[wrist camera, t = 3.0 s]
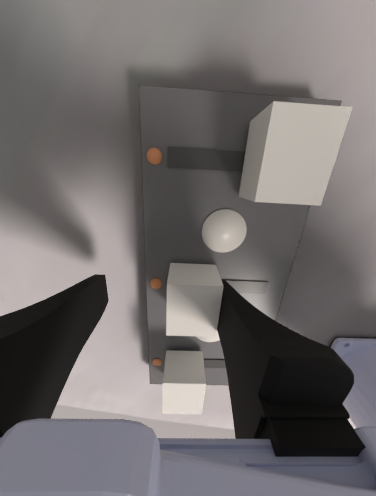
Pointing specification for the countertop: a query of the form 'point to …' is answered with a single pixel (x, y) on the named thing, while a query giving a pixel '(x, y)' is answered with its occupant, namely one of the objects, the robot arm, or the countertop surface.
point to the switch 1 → (193, 300)
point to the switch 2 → (183, 382)
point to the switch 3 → (292, 152)
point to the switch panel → (208, 210)
